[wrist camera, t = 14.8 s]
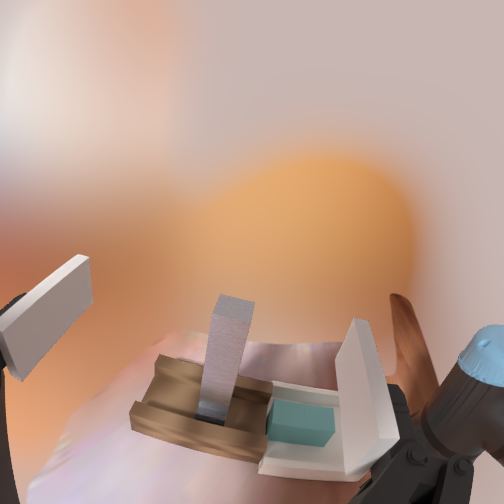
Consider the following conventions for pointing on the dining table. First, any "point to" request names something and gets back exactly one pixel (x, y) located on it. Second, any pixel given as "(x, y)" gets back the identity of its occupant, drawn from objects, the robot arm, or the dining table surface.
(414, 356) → the dining table surface
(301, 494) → the dining table surface
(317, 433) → the teal cube
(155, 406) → the channel
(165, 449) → the dining table surface
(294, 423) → the teal block
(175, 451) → the dining table surface
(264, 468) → the tray
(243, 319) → the brushed metal bar
